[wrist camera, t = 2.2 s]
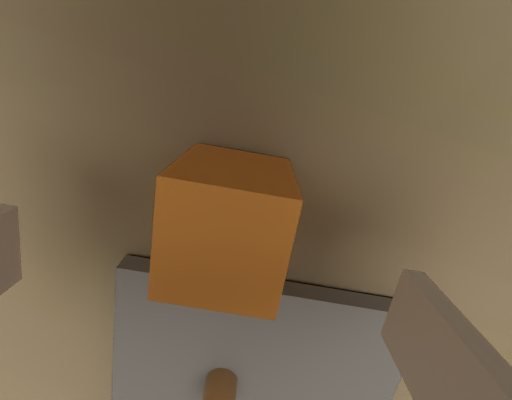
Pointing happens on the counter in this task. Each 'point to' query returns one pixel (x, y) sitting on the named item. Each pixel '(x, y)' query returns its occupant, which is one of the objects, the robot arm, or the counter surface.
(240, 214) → the orange rectangular block
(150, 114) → the counter surface
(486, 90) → the counter surface
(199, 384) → the plate
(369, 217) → the counter surface
